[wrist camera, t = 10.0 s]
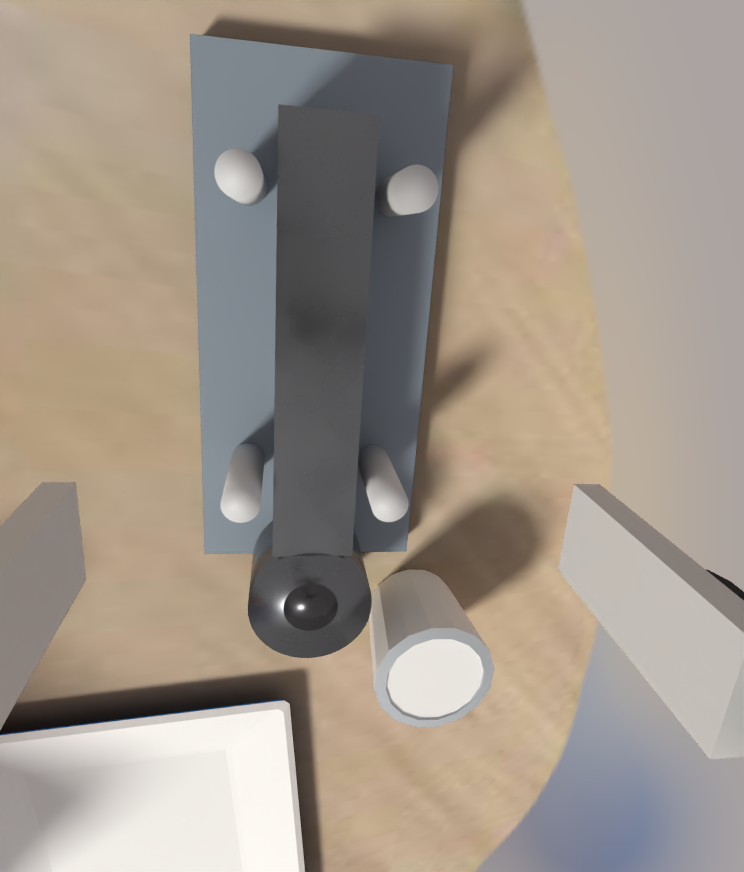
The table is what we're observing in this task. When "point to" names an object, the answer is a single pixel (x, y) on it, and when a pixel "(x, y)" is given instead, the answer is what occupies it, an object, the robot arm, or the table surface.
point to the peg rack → (256, 270)
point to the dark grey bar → (317, 384)
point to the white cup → (425, 651)
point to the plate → (154, 794)
